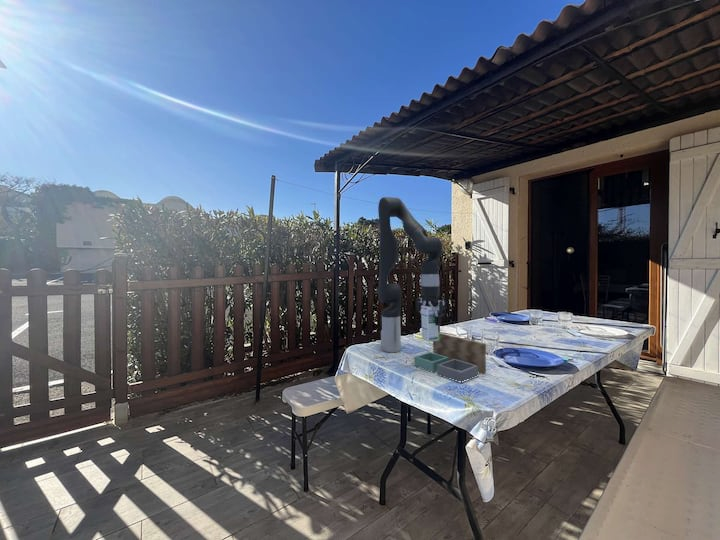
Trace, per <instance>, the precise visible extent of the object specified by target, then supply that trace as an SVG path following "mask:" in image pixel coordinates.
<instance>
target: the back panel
mask: <svg viewBox="0 0 720 540" xmlns="http://www.w3.org/2000/svg"><path fill="white" fill-rule="evenodd" d="M486 346H487V345H486V343H484V342H481V341H478V340H477V341H476V340H471V339H467V338H462V337H459V336H454V335H450V334H445V333H442V332H440V341H432V347H433V349H432V353H435V354H439V355H442V356H445V357H448V361H449V360H452V359H457V360H460V361H464V362H467V363H470V364H474V365H477V366H478V372H479V373H478V374H481V373H482V374H481V375H486V374H485V373H486V372H487V361H486V360H487V358H486V357H487V356H486V355H487V353H486V352H487V351H486V349H487V347H486Z"/></svg>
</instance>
